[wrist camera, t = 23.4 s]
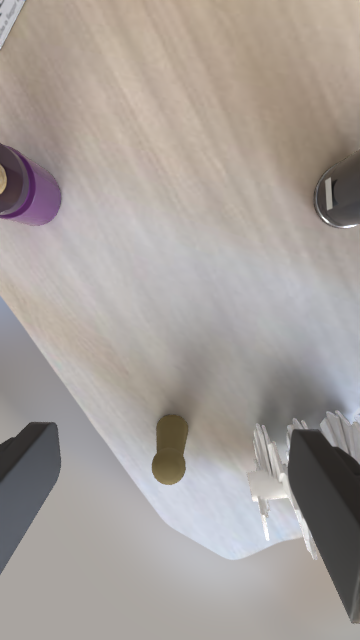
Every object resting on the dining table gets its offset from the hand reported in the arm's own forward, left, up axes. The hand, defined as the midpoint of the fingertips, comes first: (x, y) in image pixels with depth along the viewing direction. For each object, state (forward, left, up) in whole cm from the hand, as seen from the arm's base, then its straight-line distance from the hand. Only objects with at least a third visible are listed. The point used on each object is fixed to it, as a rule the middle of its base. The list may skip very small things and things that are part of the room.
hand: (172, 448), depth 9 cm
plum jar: (+3, -29, -36) cm, 46 cm away
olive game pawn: (+20, +14, -36) cm, 44 cm away
